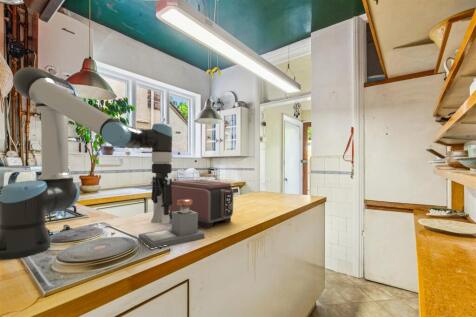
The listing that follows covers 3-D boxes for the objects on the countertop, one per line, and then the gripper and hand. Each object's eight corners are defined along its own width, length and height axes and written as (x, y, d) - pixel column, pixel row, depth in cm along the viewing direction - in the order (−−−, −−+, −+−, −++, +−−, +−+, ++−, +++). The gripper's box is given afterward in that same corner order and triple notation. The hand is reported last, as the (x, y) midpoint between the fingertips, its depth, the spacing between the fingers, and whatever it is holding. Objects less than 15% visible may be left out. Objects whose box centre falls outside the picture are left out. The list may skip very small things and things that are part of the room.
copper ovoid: (181, 222, 96) (181, 201, 96) (174, 219, 101) (174, 199, 101) (195, 220, 100) (195, 200, 100) (187, 217, 105) (188, 198, 105)
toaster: (215, 231, 108) (216, 186, 108) (166, 219, 130) (167, 181, 130) (240, 223, 124) (241, 183, 124) (192, 213, 145) (193, 179, 145)
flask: (173, 220, 97) (173, 195, 97) (164, 224, 89) (165, 198, 90) (157, 219, 98) (157, 194, 98) (147, 223, 91) (147, 197, 91)
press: (151, 249, 84) (151, 221, 85) (138, 239, 95) (139, 214, 95) (204, 237, 98) (204, 213, 99) (188, 230, 109) (188, 208, 109)
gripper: (182, 163, 89) (181, 225, 88) (161, 162, 104) (160, 215, 104) (162, 163, 84) (161, 228, 83) (143, 162, 100) (142, 217, 99)
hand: (160, 220), depth 94 cm, fingers closed on flask, 8 cm apart
